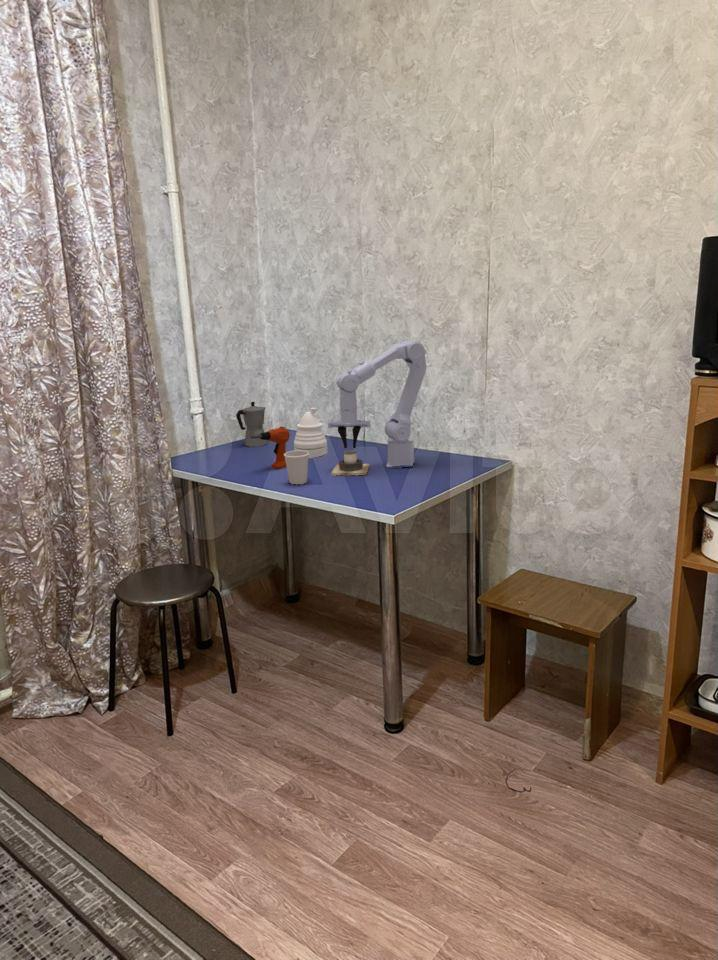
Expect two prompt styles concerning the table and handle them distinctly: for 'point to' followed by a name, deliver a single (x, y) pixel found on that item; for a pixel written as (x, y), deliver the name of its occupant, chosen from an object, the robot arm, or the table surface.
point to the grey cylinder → (350, 456)
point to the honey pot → (310, 435)
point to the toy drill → (280, 438)
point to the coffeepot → (252, 424)
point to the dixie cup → (297, 466)
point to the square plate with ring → (350, 468)
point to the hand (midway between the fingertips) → (350, 447)
